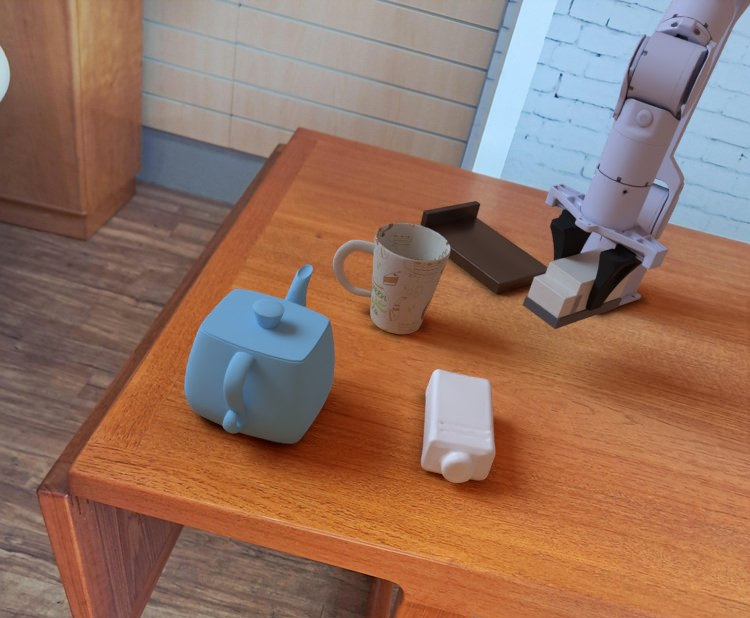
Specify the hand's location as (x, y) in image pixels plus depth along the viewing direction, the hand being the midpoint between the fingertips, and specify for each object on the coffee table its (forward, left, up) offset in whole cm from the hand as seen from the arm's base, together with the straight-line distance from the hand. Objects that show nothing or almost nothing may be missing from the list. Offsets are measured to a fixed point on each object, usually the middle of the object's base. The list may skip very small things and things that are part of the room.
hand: (575, 295), depth 86 cm
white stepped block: (0, 0, -1) cm, 1 cm away
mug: (+14, -15, -9) cm, 22 cm away
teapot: (+35, -7, -9) cm, 37 cm away
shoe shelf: (-9, -21, -8) cm, 24 cm away
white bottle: (+21, +6, -9) cm, 24 cm away
